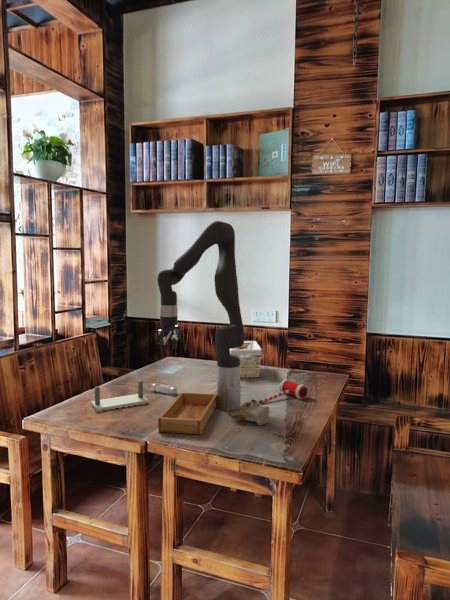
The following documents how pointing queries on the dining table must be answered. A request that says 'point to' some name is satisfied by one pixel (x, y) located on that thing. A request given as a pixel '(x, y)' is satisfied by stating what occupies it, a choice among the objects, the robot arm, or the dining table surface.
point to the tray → (188, 413)
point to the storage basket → (248, 358)
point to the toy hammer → (289, 391)
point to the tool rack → (119, 399)
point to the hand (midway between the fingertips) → (168, 350)
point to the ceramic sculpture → (252, 413)
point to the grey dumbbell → (164, 388)
